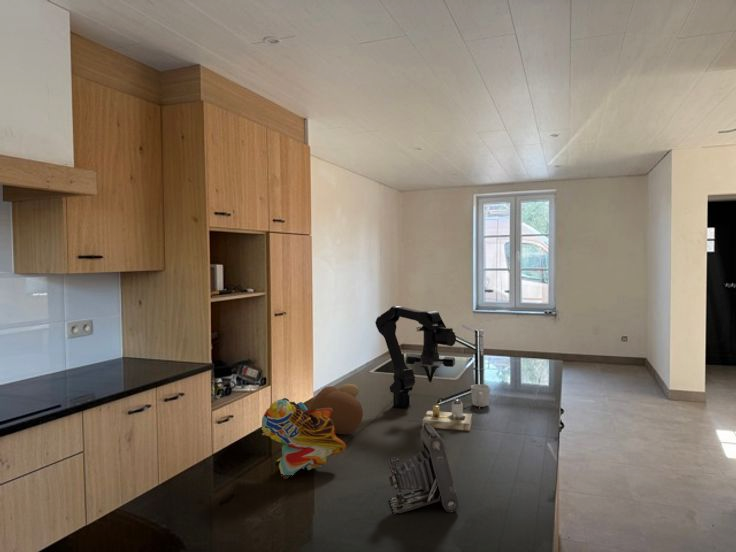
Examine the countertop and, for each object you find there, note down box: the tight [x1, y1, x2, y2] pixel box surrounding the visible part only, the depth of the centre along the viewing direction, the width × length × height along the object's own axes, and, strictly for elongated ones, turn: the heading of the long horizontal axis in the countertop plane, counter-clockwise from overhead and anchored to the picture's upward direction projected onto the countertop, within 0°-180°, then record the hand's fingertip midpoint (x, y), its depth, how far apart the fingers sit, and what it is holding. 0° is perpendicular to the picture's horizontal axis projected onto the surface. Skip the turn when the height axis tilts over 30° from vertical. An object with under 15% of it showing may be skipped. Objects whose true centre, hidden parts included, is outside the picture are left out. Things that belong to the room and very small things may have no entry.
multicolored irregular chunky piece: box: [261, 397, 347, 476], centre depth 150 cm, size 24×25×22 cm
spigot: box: [451, 398, 464, 420], centre depth 190 cm, size 4×4×9 cm
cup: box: [470, 383, 491, 408], centre depth 213 cm, size 11×8×8 cm
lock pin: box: [432, 404, 449, 418], centre depth 192 cm, size 6×3×6 cm, turn 74°
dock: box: [422, 410, 473, 431], centre depth 191 cm, size 17×12×2 cm
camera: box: [388, 423, 460, 514], centre depth 127 cm, size 11×17×20 cm, turn 95°
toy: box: [307, 383, 364, 435], centre depth 182 cm, size 24×16×20 cm
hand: (430, 382), depth 202 cm, fingers closed
